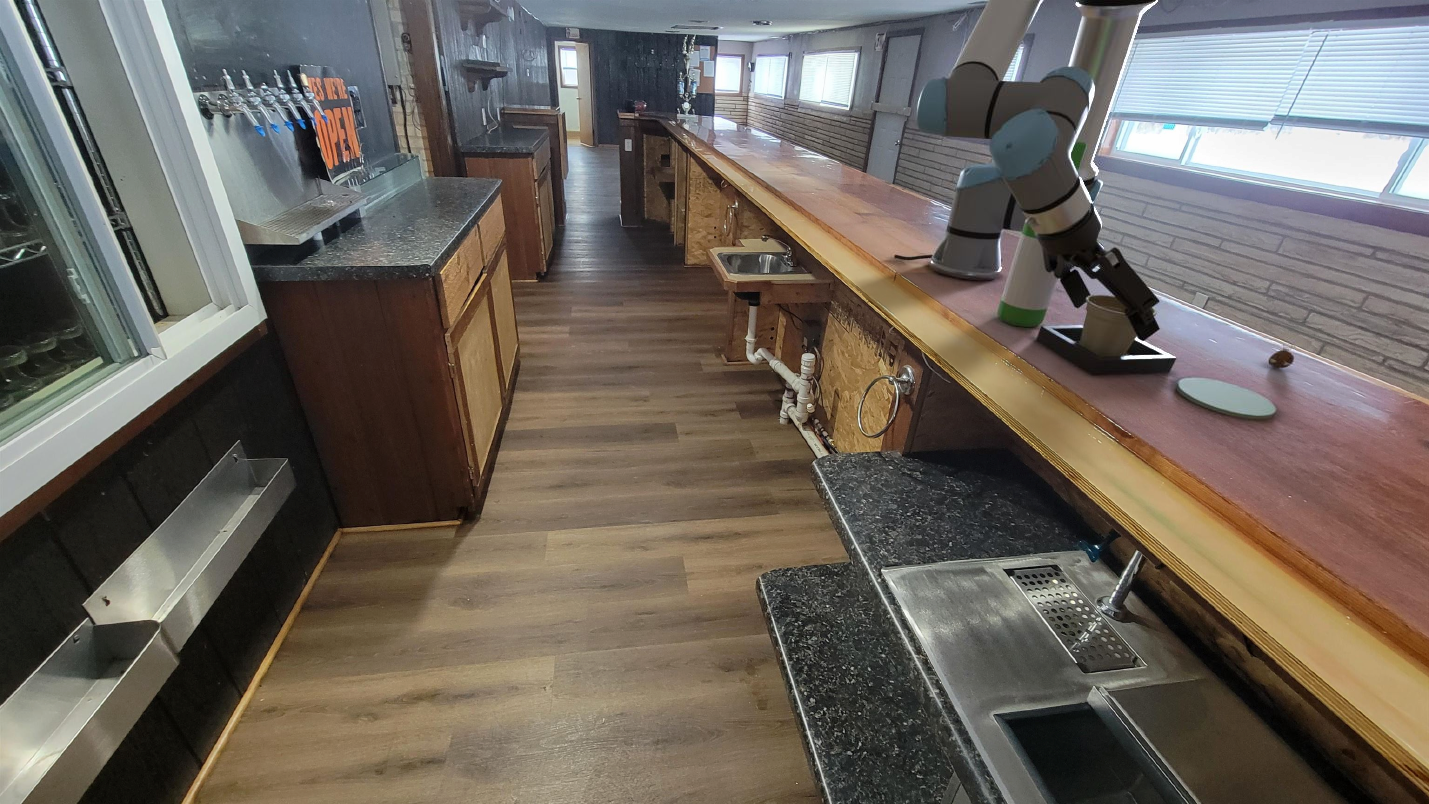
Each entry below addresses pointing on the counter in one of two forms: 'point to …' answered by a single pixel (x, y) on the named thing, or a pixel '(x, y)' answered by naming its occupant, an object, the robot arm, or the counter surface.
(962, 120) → the robot arm
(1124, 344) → the flower pot
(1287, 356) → the chocolate
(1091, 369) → the holder
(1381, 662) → the counter surface
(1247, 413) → the coaster
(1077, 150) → the wine bottle
